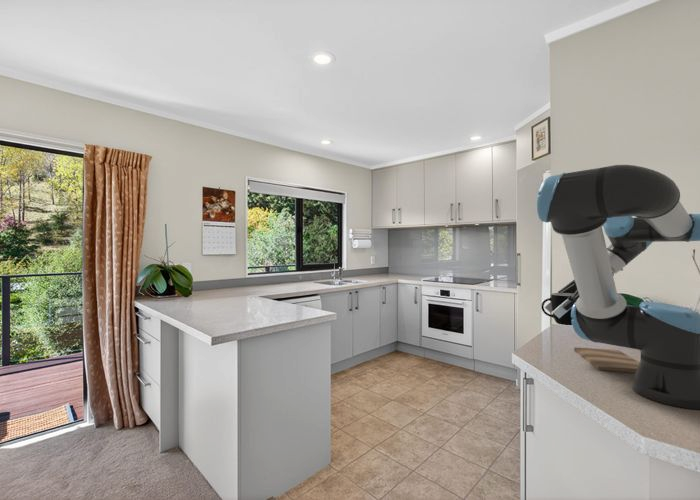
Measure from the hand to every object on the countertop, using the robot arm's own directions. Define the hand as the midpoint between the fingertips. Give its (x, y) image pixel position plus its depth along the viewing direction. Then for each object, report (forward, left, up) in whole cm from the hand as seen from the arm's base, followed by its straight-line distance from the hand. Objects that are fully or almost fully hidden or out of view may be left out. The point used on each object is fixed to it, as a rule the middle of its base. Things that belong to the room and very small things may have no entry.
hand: (551, 312), depth 116 cm
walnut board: (0, -17, -16) cm, 23 cm away
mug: (0, -3, -4) cm, 5 cm away
